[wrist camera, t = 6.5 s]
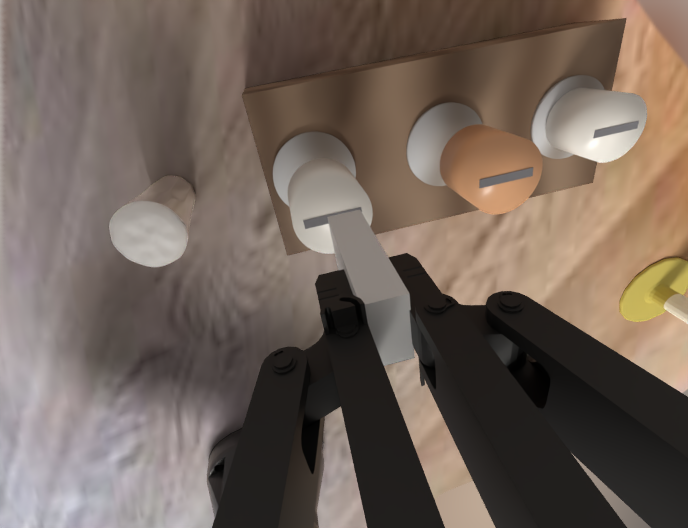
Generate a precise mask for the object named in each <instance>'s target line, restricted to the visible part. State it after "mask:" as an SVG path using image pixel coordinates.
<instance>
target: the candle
mask: <svg viewBox="0 0 688 528" xmlns="http://www.w3.org/2000/svg"><path fill="white" fill-rule="evenodd" d="M687 288H688V261H686V260H683V259H680V258H678V257H676V258H668V259H663V260H661V261H659V262H657V263H654V264H652V265H650V266H648V267H647V268H646V269H645V270H643V271H642V272H641V273H639V274H638V275H637V276H636V277H635V278H634V279H633V280H632V281H631V283H630V284H629V285H628V286H627V287H626V289H625V291H624V293H623V295H622V297H621V300H620V313H621V314H622V315H623V317H624V318H625V319H627V320H631V321H634V322H640V321H646V320H650V319H652V318H654V317H656V316H658V315H661V314H662V313H664V312H665V311H666V310H667V311H668V312H670V313H672V314H673V315H675V316H676V317H678V318H679V319H681V320H682V321H684V322H686V323H687V324H688V298H687V297H685V296H683V295H684V294H685V292H686V290H687Z"/></svg>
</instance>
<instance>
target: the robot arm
mask: <svg viewBox="0 0 688 528" xmlns="http://www.w3.org/2000/svg"><path fill="white" fill-rule="evenodd" d="M327 218H328V222H329V227H330V232H331V237H332V242H333V247H334V252H335V257H336V262H337V267H338V271H334V272H330V273H326V274H322V275H319V276H318V278H317V281H316V283H315V286H316V290H317V295H318V300H319V304H320V309H321V312H320V315H321V319H322V323H323V327H324V333H323V335H322V337H321V338H320V340H319V341H318V342H317V343H316V344H314V345H313V346H311V347H310V348H308V349H306V350H304V351H303V350H301V349H299V348H297V347H285V348H280V349H278V350H276V351H274V352H272V353H271V354H270V355H269V356H268V357H267V358H266V359H265V360H264V362H263V364H262V366H261V369H260V372H259V376H258V379H257V382H256V386H255V389H254V392H253V395H252V399H251V402H250V405H249V408H248V412H247V415H246V418H245V422H244V425H243V428H242V429H240V430H238V431H236V432H234V433H232V434H230V435H229V436H227V437H226V438H224V439H223V440H222V441H220V442H219V443H218V444H217V445H216V447H215V448H214V449H213V451H212V453H211V455H210V458H209V463H208V471H207V485H208V489H209V494H210V499H211V503H212V508H213V513H214V517H215V520H214V523H213V526H212V528H319V526H318V518H317V506H318V500H319V494H320V488H321V482H322V476H323V471H324V457H323V451H322V439H323V429H324V420H325V419H324V416H326V415H327V414H329V413H331V412H332V411H334V410H335V409H337V408H339V407H340V406H341V408H342V413H343V417H344V422H345V427H346V431H347V436H348V440H349V445H350V450H351V454H352V459H353V463H354V468H355V473H356V477H357V482H358V486H359V491H360V496H361V500H362V505H363V509H364V514H365V519H366V523H367V528H445V527H444V524H443V521H442V519H441V516H440V513H439V511H438V508H437V506H436V503H435V500H434V497H433V495H432V492H431V490H430V487H429V484H428V482H427V479H426V476H425V474H424V471H423V468H422V466H421V463H420V460H419V458H418V455H417V453H416V450H415V447H414V445H413V442H412V439H411V437H410V434H409V431H408V429H407V426H406V423H405V421H404V418H403V416H402V413H401V410H400V408H399V405H398V402H397V400H396V397H395V394H394V392H393V389H392V386H391V384H390V381H389V379H388V376H387V373H386V371H385V368H384V366H386V365H390V364H393V363H397V362H401V361H405V360H409V359H412V358H415V357H414V349H415V351H416V353H417V355H418V357H419V368H420V381H421V386H423V385H425V381H426V383H427V385H428V387H429V389H430V391H431V393H432V395H433V398H434V400H435V402H436V404H437V406H438V408H439V410H440V412H441V414H442V416H443V418H444V421H445V423H446V425H447V427H448V429H449V431H450V433H451V435H452V437H453V439H454V441H455V444H456V446H457V448H458V450H459V452H460V454H461V456H462V458H463V460H464V462H465V464H466V467H467V469H468V471H469V473H470V475H471V477H472V479H473V481H474V483H475V485H476V487H477V489H478V491H479V493H480V496H481V498H482V500H483V502H484V504H485V506H486V508H487V510H488V513H489V515H490V517H491V519H492V521H493V523H494V525H495V527H496V528H627V527H626V526H625V524H624V523H623V522H622V520H621V519H620V518H619V516H618V515H617V514H616V512H615V511H614V510H613V508H612V507H611V506H610V504H609V503H608V502H607V500H606V499H605V498H604V496H603V495H602V494H601V492H600V491H599V490H598V488H597V487H596V486H595V484H594V483H593V482H592V480H591V479H590V478H589V476H588V475H587V474H586V472H585V471H584V470H583V468H582V467H581V466H580V464H579V463H578V462H577V460H576V459H575V458H574V456H576V458H578V459H579V460H580V461H581V462H582V463H583V464H584V465H585V466H586V467H587V468H588V469H589V470H590V471H591V472H593V473H594V474H595V475H596V476H597V477H598V478H599V479H600V480H601V481H602V482H603V483H604V484H605V485H606V486H607V487H608V488H610V489H611V490H612V491H613V492H614V493H615V494H616V495H617V496H618V497H619V498H620V499H621V500H622V501H624V503H626V504H627V505H628V506H629V507H630V508H631V509H632V510H633V511H634V512H635V513H636V514H637V515H638V516H639V517H641V518H642V519H643V520H644V521H645V522H646V523H647V524H648V525H649V526H650V527H651V528H688V397H687V396H686V395H684V394H682V393H681V392H679V391H678V390H676V389H674V388H673V387H671V386H670V385H668V384H666V383H665V382H663V381H662V380H660V379H658V378H657V377H655V376H654V375H652V374H650V373H649V372H647V371H646V370H644V369H642V368H641V367H639V366H638V365H636V364H634V363H633V362H631V361H630V360H628V359H626V358H625V357H623V356H622V355H620V354H618V353H617V352H615V351H614V350H612V349H610V348H609V347H607V346H606V345H604V344H602V343H601V342H599V341H598V340H596V339H594V338H593V337H591V336H590V335H588V334H586V333H585V332H583V331H582V330H580V329H578V328H577V327H575V326H574V325H572V324H570V323H569V322H567V321H566V320H564V319H562V318H561V317H559V316H558V315H556V314H554V313H553V312H551V311H550V310H548V309H546V308H545V307H543V306H542V305H540V304H538V303H537V302H535V301H534V300H532V299H530V298H529V297H527V296H525V295H523V294H520V293H517V292H512V291H501V292H498V293H494V294H492V295H491V296H490V297H488V299H487V302H486V305H461V304H459V303H458V302H457V301H456V300H455V299H454V298H453V297H450V296H448V295H445V294H442V293H441V292H440V290H439V289H438V287H437V286H436V285H435V283H434V282H433V280H432V279H431V278H430V276H429V275H428V273H426V271H425V269H424V268H423V267H422V265H421V264H420V262H419V261H418V260H417V258H415V257H413V256H411V255H409V254H408V253H405V254H401V255H397V256H393V257H389V258H388V256H387V255H386V253H385V251H384V249H383V248H382V246H381V244H380V243H379V241H378V239H377V238H376V236H375V234H374V232H373V231H372V229H371V227H370V226H369V224H368V222H367V221H366V219H365V217H364V215H363V214H362V212H361V210H356V211H351V212H347V213H342V214H338V215H334V216H329V217H327ZM424 379H425V381H424ZM571 453H572V454H573V455H574V456H573V455H572V454H571Z"/></svg>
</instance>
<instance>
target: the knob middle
mask: <svg viewBox="0 0 688 528" xmlns="http://www.w3.org/2000/svg"><path fill="white" fill-rule="evenodd" d="M542 166H543V163H542V156H541V153H540V150H539V149H538V147H537V146H536V145H535V144H534V143H533V142H532V141H530V140H528V139H526V138H523V137H520V136H517V135H514V134H511V133H508V132H505V131H502V130H499V129H496V128H493V127H490V126H486V125H482V124H475V125H470V126H467V127H465V128H463V129H461V130H459V131H458V132H457V133H455V134H454V135H453V136H452V137H451V138H450V140H449V141H448V142H447V144H446V145H445V147H444V149H443V152H442V154H441V158H440V174H441V177H442V179H443V181H444V183H445V184H446V185H447V186H448V187H449V188H451V189H452V190H453V191H455V192H456V193H457V194H459V195H460V196H462V197H463V198H464V199H466V200H467V201H468V202H470V203H471V204H473V205H474V206H475V207H477V208H478V209H479V210H481V211H483V212H485V213H488V214H502V213H506V212H509V211H511V210H513V209H515V208H517V207H518V206H520V205H521V204H522V203H524V202H525V201H526V200H527V199H528V198H529V197H530V195H531V194H532V193H533V191H534V190H535V188H536V186H537V185H538V182H539V180H540V177H541V174H542Z"/></svg>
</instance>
